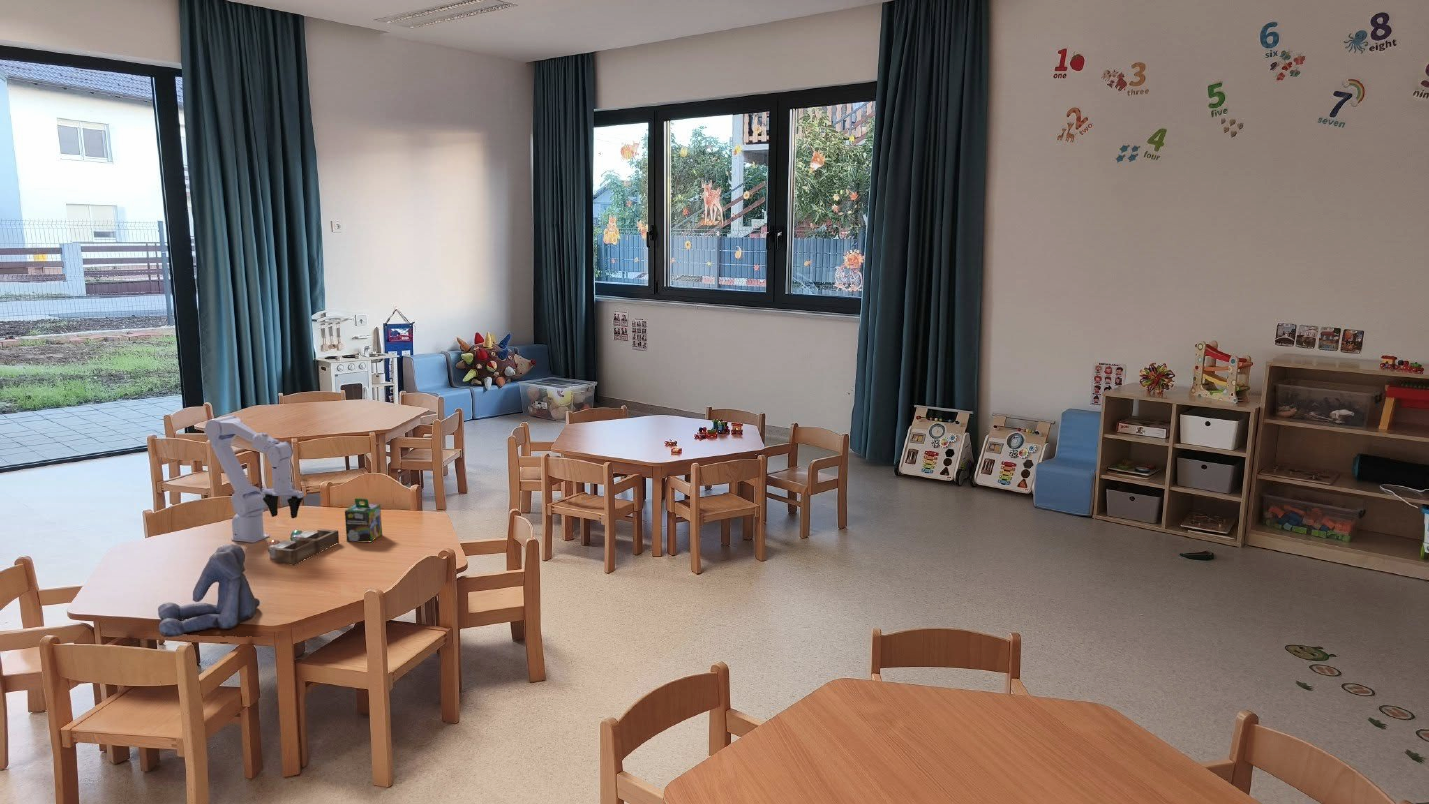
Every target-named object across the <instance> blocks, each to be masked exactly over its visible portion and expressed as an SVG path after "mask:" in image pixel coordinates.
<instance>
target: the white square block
mask: <svg viewBox="0 0 1429 804" xmlns="http://www.w3.org/2000/svg"><path fill="white" fill-rule="evenodd" d="M276 548H285V549H296V548H297V542H294V541H291V540H281V541H280V540H275V539H272V540H270V541H269V542H268V544H267V547H266V549H267V552H268V554H269V558H270V559H275V549H276Z"/></svg>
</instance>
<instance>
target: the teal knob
mask: <svg viewBox="0 0 1429 804" xmlns="http://www.w3.org/2000/svg"><path fill="white" fill-rule="evenodd" d="M301 537H302V538H311V539H318V538H319V532H317V531H315V530H314V531H312V530H304V531H302V530H298V529H294V530H293V531H292V532H291V533H290V539H289V541H294V542H295V540H296V539H298V538H301Z"/></svg>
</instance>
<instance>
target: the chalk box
mask: <svg viewBox="0 0 1429 804" xmlns="http://www.w3.org/2000/svg"><path fill="white" fill-rule="evenodd" d="M360 502H362V503H360ZM354 503H355V504H353V505H351V506H350V507H349V508H347V509H345V510H344V519H345V532H346V533H345V535H346V537H345V538H346V541H347V540H348V541H347V542H354V541H372V540H373V539H374V538H376V539H378V538H379V537H380V535H381V534H382V535H383V526H382V511H381V510H382V509H381V504H380V503H369V500H368V499H367V498H357V497H356V498H354ZM382 535H381V536H382ZM378 536H379V537H378ZM377 537H378V538H377ZM373 541H374V540H373ZM373 541H372V542H373Z"/></svg>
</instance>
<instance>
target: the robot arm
mask: <svg viewBox="0 0 1429 804" xmlns="http://www.w3.org/2000/svg"><path fill="white" fill-rule="evenodd" d="M203 432H204V433H205V435H206V437H207V438H208V439H207V440H208V441H209V443H210V446H211V449H212V450H213V453H214V454H215V456H216V459H217V461H218V462H219V465H220V466H221V467H222V470H223V472H224V473H225V475H226V478H227V479H228V481H229V483H230V486H231V487H232V489H233V491H234V492H233V494H232V496H231V498H230V501H231V503H232V507H233V511H234V513H236V514H234V516H232V520H231V528H232V538H231V541H234V542H235V541H237V542H244V543H257V542H260V541H261V540H264V539H266V538H268V537H271V535H270V534H267V533H264V518H263V517H264V516H263V513H264V512H265V509H266V508H268V509H269V510H268V511H269V513H270V515H271V517H272V518H274V517H277V516H278V510H279V509H278V502H279V498H280V497H284V498H285V497H287V498H288V499H286V501H287V503H288V506H289V510H290V518H291V519H296V518H297V517H298V513H299V509H300V506H301V503H302V501H303V500H304V490H303V491H301V490H296V489H293V488H292V474H291V460H290V458H291V457H292V456H293V455H294V449H293V446H292V444H290V443H289V442H288V441H279V439H276V438H274V437H272V436H270V435H269V433H267V432H260V433H258V432H256V431H255V430H253V429H252V428H250V427H249V426H248V425H246V424H244V423H243V421H242V419H241V418H240V417H237V416H236V415H233V414H231V415H227V416H224V417H218V418H212V419H211V418H210V419H208V420H207V421H206V423H205V427H204V431H203ZM237 436H238V437H240V438H242V439H245V440H247V441H249V442H250V443H251V445H252V447H253V448H255V449H256V450H258V451H259V452H261V453H263V454H265V455H266V458H267V460H268V461H269V465H270V467H271V477H272V478H271V479H272V488H264V489H262V490H261V489H260V488H259V487H257V486H255V485H252V484H251V482H250V480H249V479H248V476H247V474H246V473H245V471H244V469H243V466H242V465H241V463H240V461H239V460H238V458H237V455H236V453H235V451H234V449H233V447H232V445H231V444H232V442H233V441H234V440H235V438H236V437H237Z"/></svg>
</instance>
